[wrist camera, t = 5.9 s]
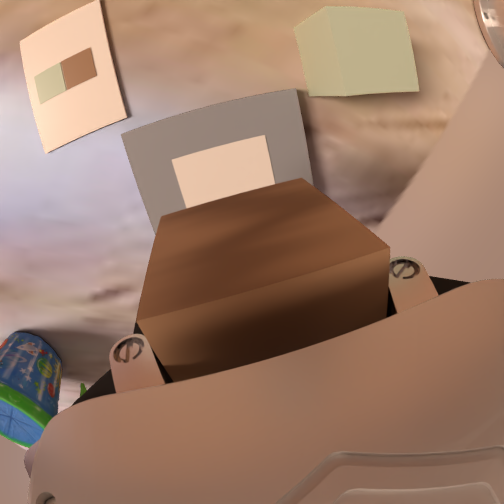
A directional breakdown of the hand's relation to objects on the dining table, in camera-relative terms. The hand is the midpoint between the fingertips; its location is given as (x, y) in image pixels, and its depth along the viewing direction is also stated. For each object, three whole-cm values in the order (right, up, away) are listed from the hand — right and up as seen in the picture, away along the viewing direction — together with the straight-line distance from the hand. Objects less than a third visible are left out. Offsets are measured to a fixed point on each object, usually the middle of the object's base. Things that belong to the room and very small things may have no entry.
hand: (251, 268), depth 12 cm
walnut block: (0, 0, +1) cm, 1 cm away
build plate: (-2, +5, +10) cm, 11 cm away
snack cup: (-24, -11, +14) cm, 30 cm away
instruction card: (-13, +13, +4) cm, 19 cm away
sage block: (+6, +15, +7) cm, 17 cm away
